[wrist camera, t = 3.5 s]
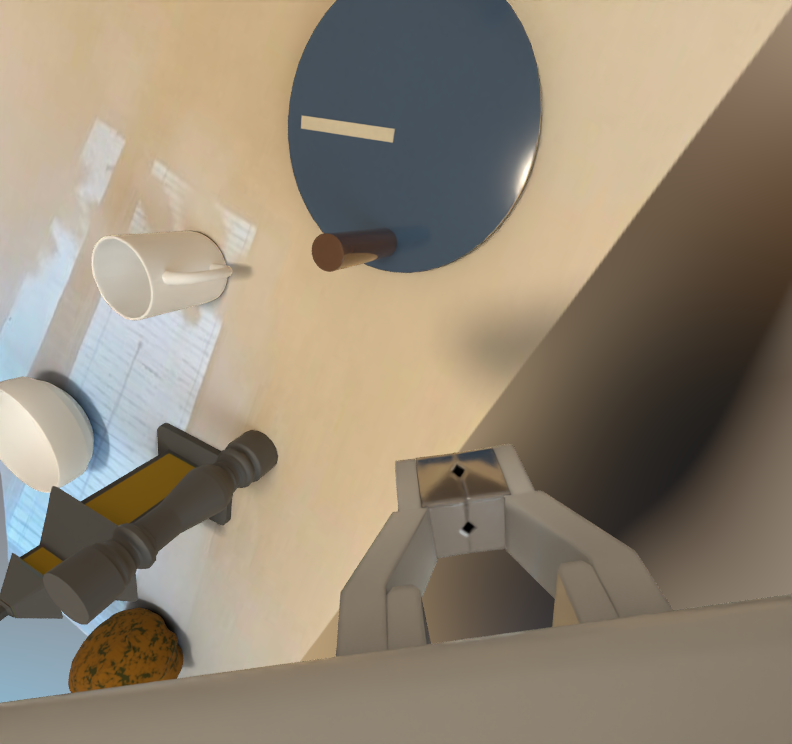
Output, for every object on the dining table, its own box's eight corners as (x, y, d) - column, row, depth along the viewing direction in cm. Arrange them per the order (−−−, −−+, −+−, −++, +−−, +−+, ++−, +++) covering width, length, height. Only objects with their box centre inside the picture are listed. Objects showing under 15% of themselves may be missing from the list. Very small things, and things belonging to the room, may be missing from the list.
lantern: (162, 420, 62) (-127, 569, 36) (234, 458, 59) (-28, 653, 33) (164, 486, 68) (-80, 653, 43) (230, 524, 65) (7, 730, 39)
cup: (169, 231, 48) (80, 235, 39) (248, 229, 44) (168, 234, 35) (184, 299, 51) (105, 318, 42) (259, 304, 47) (189, 325, 38)
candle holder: (270, 476, 57) (89, 637, 36) (237, 451, 58) (40, 593, 36) (283, 448, 54) (93, 605, 33) (248, 421, 55) (40, 558, 33)
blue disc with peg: (587, -31, 26) (597, -167, 17) (496, 296, 36) (469, 328, 26) (301, -37, 32) (189, -139, 23) (288, 244, 42) (206, 254, 32)
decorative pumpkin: (111, 611, 95) (14, 701, 77) (148, 580, 85) (48, 675, 67) (170, 670, 96) (89, 773, 78) (213, 646, 87) (132, 756, 69)
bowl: (58, 348, 66) (-6, 365, 59) (128, 447, 68) (76, 475, 61) (21, 392, 76) (-37, 411, 68) (84, 477, 78) (35, 504, 71)
